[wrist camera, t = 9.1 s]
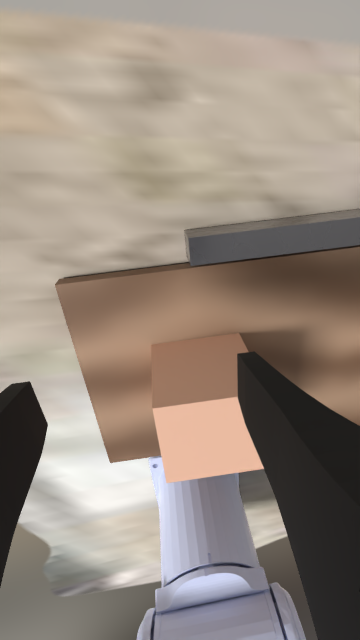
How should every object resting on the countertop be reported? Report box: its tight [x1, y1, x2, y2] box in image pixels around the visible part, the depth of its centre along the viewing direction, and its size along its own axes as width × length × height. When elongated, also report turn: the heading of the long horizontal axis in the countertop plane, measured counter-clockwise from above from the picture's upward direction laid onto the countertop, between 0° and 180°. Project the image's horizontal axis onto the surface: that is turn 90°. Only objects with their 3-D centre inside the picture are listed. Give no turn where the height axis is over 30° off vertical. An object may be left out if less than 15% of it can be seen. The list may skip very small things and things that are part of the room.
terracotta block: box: [151, 333, 264, 483], centre depth 20 cm, size 6×6×6 cm
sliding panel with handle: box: [55, 245, 360, 463], centre depth 21 cm, size 16×24×6 cm, turn 96°
